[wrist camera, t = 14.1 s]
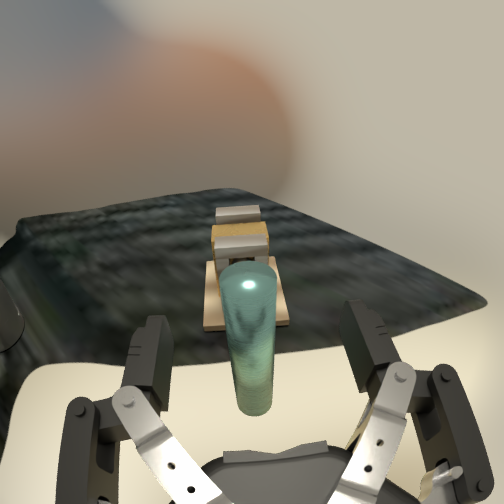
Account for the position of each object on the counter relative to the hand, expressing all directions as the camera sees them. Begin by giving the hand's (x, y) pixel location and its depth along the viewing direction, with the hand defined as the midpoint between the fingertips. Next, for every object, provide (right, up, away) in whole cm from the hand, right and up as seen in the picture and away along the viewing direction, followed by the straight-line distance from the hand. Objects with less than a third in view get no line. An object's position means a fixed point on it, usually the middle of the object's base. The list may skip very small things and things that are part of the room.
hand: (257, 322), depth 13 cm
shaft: (-1, -7, +18) cm, 19 cm away
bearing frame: (-1, -3, +31) cm, 31 cm away
